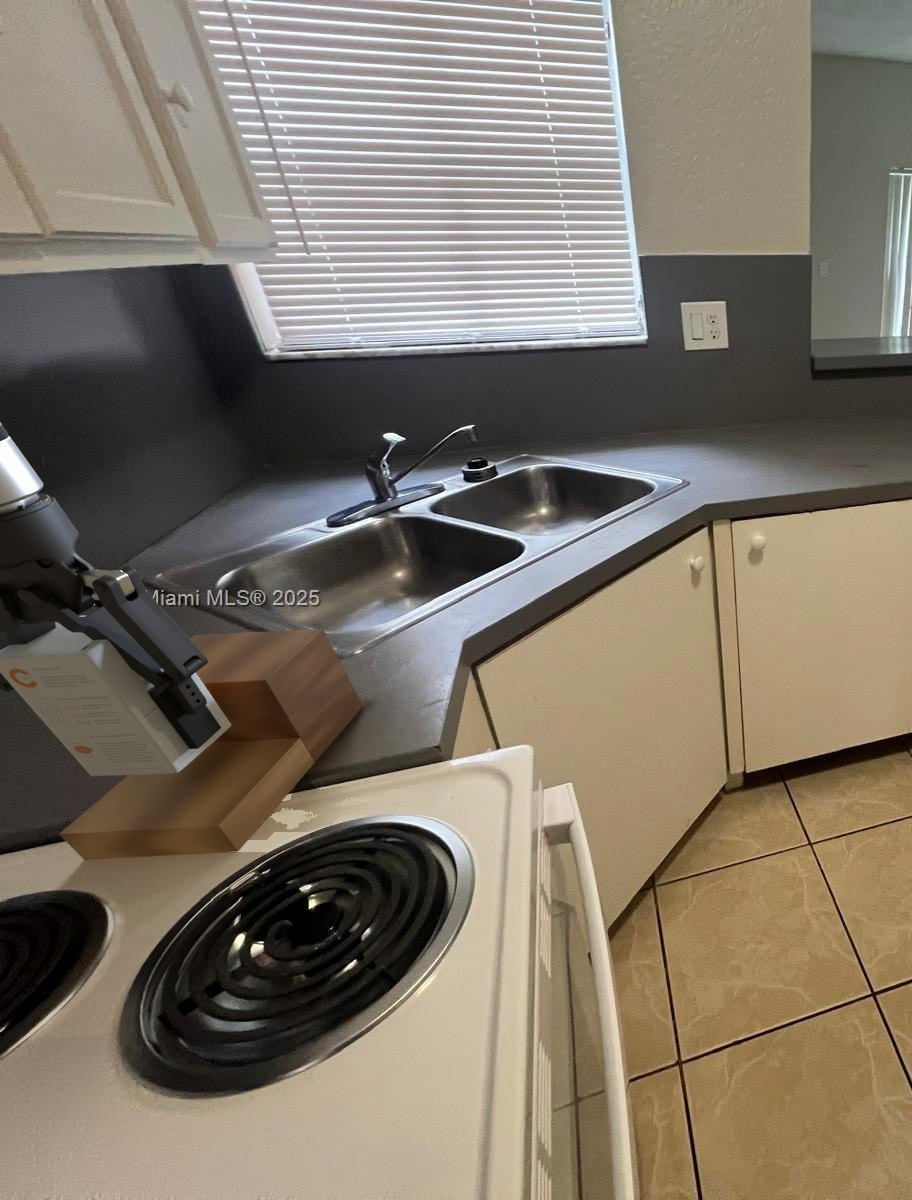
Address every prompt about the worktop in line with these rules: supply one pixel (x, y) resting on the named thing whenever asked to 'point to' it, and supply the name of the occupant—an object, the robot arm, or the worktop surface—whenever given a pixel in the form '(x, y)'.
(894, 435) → the worktop surface
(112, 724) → the small box
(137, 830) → the shelf stand
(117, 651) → the robot arm
